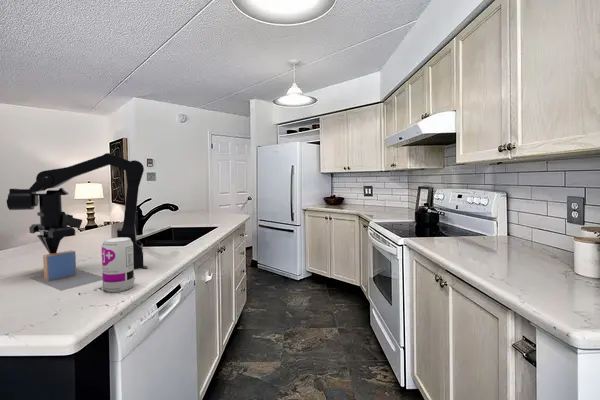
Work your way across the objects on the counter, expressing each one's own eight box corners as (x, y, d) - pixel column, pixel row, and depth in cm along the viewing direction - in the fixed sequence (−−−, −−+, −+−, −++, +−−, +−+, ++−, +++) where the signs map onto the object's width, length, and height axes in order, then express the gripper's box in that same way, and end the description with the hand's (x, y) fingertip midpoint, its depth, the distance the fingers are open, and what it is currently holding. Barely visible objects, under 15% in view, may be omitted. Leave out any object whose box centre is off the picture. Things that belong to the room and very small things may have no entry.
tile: (76, 274, 105) (75, 251, 105) (48, 281, 98) (46, 256, 98) (72, 273, 107) (71, 250, 106) (44, 279, 100) (43, 255, 99)
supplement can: (112, 295, 90) (110, 243, 89) (97, 289, 95) (95, 240, 94) (139, 286, 97) (138, 238, 96) (124, 282, 102) (123, 236, 101)
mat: (108, 281, 102) (107, 278, 102) (61, 293, 91) (61, 290, 91) (74, 270, 113) (74, 268, 113) (29, 280, 102) (29, 277, 102)
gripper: (91, 208, 106) (93, 254, 107) (65, 205, 115) (67, 247, 116) (52, 211, 96) (54, 261, 97) (27, 208, 106) (30, 254, 107)
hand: (53, 255), depth 105 cm, fingers closed
